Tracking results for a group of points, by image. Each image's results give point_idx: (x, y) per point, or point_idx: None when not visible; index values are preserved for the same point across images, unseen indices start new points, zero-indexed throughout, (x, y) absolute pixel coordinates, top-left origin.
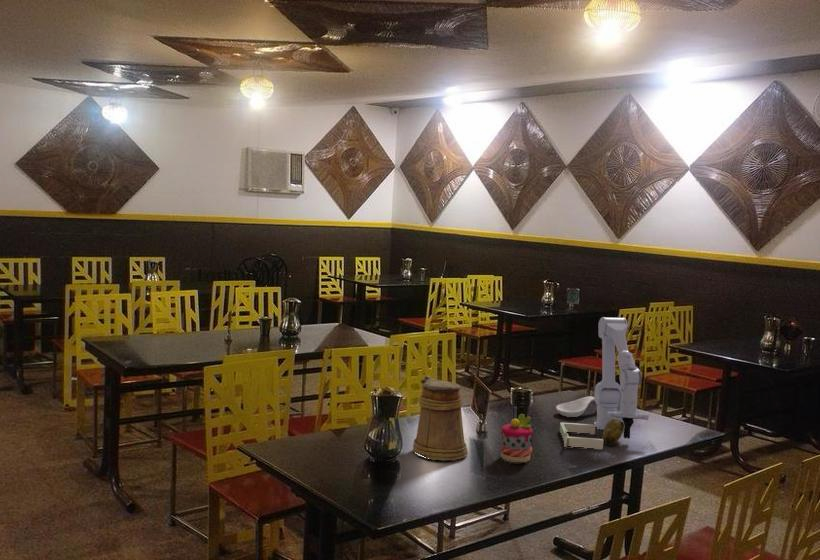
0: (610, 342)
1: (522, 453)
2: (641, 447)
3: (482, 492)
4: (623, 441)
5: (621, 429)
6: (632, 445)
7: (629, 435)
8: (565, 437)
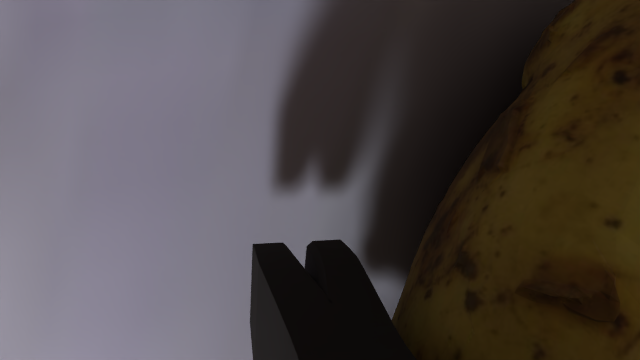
0: None
1: None
2: (48, 69)
3: None
4: None
5: (558, 293)
6: (203, 154)
7: (272, 269)
8: None
